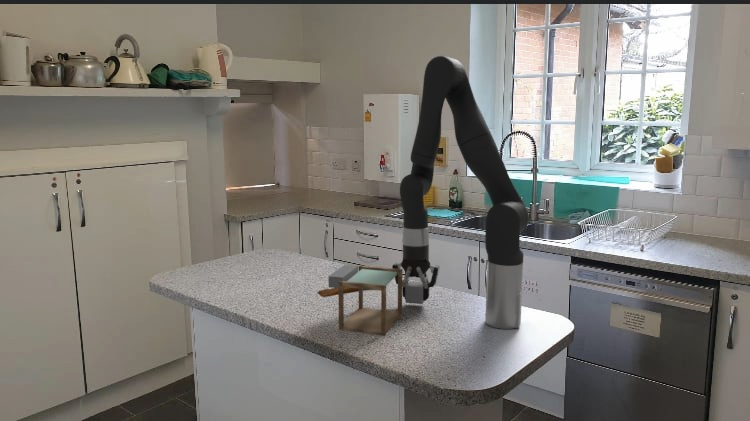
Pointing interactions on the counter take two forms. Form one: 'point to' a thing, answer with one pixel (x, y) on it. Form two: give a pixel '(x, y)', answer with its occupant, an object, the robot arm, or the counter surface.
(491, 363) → the counter surface
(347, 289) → the primitive tool
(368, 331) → the wooden box frame
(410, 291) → the stone
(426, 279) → the robot arm
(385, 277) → the trapdoor
